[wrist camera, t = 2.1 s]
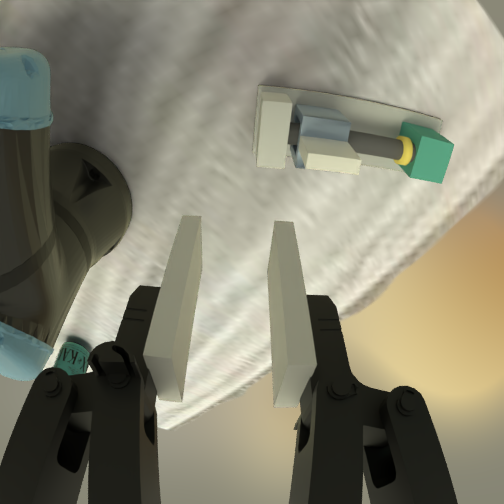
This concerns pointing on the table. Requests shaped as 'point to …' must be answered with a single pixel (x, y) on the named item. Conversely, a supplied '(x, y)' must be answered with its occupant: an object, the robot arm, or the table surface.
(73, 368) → the beverage bottle
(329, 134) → the pale blue hollow box
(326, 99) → the slider rail
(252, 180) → the table surface
